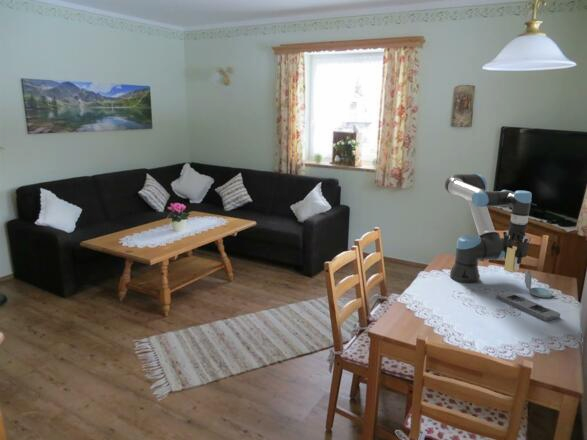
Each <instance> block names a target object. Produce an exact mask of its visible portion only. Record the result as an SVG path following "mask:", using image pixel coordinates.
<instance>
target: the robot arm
mask: <svg viewBox="0 0 587 440" xmlns="http://www.w3.org/2000/svg"><path fill="white" fill-rule="evenodd" d="M444 188H445V190H446V192H447V193H449V194H450V195H453V196H456V195H457V196H460V197H462V198H464V199H465V200H467V202H468V204H469V208H470V210H471V214H472V217H473V221H474V224H475V227H476V230H477V233H478V235H475V234H474V235H472V234H465V235H461V236H460V237H458V239H457V242H456V246H455V247H456V249H455V259H454V263H453V266H452V268H451V270H450V272H449V277H450V278H451V279H452V280H454V281H456V282H459V283H465V284H474V283H475V284H476V283H478V282H479V281H480V277H481V276H480V273H479V267H478V265H479V261H492V260H493V261H498V260H503V259H505V260H506V254H507V248H508V247H512V246H514V244H516V247H517V257H516V258H515V264H514V270H517V269H518V270H519V269H520V264H522V258H526V257H527V254H528V248H529V243H530V241H531V237H529V238H528V237H527V236H526V232H527V228H528V223H529V216H530V209H531V205H532V204H531V203H532V197H533V196H532V195H533V194H532V192H531V191H528V190H515V191H512V190H507V189H502V190H501V191H494V190H493V191H487V189H488V182H487V179H486V178H485V176H483V174H477V173H470V174H469V173H467V174H466V173H456V174H452V175H450V176H449V177H448V178H446V180H445V182H444ZM488 207H509V208H511V214H510V219H509V220H510V222H509V227H508V229H509V230H508V231H503V232H502V233H503V234H502V235H503V237H501V236H500V232H498V231H496V230H495V227H494V223H493V221H492V218H491V214H490V212H489V209H488ZM505 260H504V261H505Z"/></svg>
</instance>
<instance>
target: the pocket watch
mask: <svg viewBox="0 0 587 440" xmlns="http://www.w3.org/2000/svg"><path fill="white" fill-rule="evenodd" d="M524 284H525V287H526V288H527V290H528V291H529V293H530V294H531V295H533V296H535V297H538V298H543V299H548V298H549V299H550V298H551V297H554V298H557V295H555V294H553V293H552V291H550V290H548V289H546V288H544V287H532V274H531V271H530V270H529V269H527V270H526V271H525V274H524Z"/></svg>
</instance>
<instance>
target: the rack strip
mask: <svg viewBox="0 0 587 440" xmlns="http://www.w3.org/2000/svg"><path fill="white" fill-rule="evenodd" d="M495 299H496V300H499V301H501V302H503V303H506V304H508V305H509V306H512V307H514V308H517V309H519V310H521V311H522V312H525V313H526V314H529V315H532V316H533V317H536V318H538V319H540V320H542V321H544V322H550V321H553V320H556V319H560V318H561V313H560V312H557V311H555V310H553V309H551V308H549V307H547V306H544V305H542V304H539V303H537V302H534V301H532V300H530V299H528V298H525V297H523V296H521V295H518V294H516V293H513V292H512V291H506V292H502V293H498V294H496V297H495ZM513 299H514V300H516V301H514V300H513ZM517 301H518V302H517ZM539 311H541V312H539Z"/></svg>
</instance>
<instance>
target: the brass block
mask: <svg viewBox="0 0 587 440" xmlns="http://www.w3.org/2000/svg"><path fill="white" fill-rule="evenodd" d="M516 257H517V246H515V245H513V246H512V247H508V248H507V254H506V260H504V267H503V270H504V271H507V272H509V273H511V274H513V273H517V272H519V269H517V270H514V264H515V258H516Z"/></svg>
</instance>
